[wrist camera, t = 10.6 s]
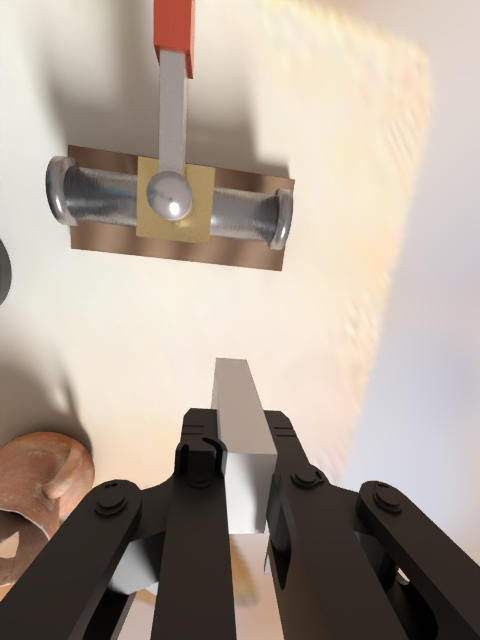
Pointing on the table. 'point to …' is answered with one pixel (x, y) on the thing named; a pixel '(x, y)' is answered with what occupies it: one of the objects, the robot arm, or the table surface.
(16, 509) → the ceramic jug
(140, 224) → the pipe and valve body
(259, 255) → the walnut base board
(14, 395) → the table surface
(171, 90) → the valve lever
